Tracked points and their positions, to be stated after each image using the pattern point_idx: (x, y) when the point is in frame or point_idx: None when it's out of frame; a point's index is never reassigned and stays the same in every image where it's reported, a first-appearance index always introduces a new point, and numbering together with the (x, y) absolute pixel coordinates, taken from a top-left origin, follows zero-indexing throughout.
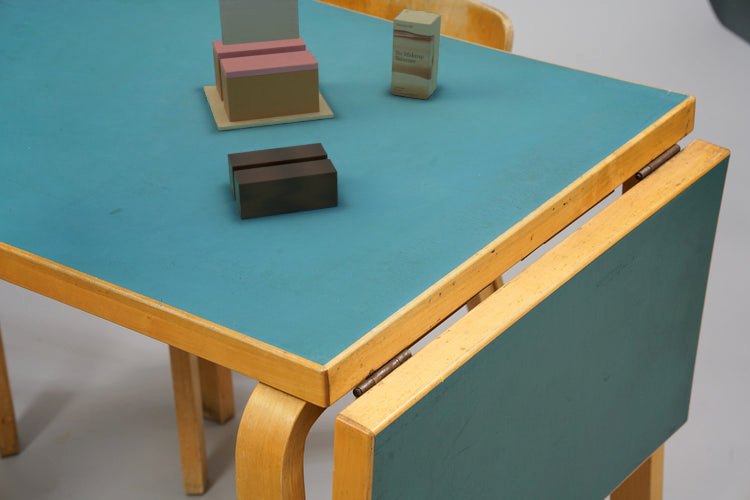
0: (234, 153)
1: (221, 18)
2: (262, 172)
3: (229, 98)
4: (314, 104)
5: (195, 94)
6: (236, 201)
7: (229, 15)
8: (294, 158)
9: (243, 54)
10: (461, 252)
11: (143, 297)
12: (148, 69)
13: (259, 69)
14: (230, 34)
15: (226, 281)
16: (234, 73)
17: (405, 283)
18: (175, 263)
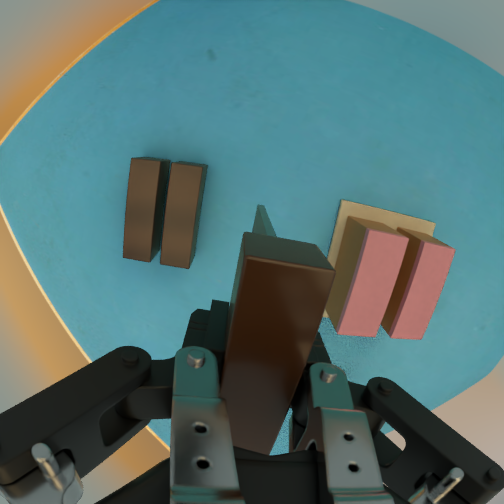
0: (200, 174)
1: (260, 214)
2: (145, 188)
3: (356, 223)
4: (326, 305)
5: (429, 211)
6: (165, 159)
7: (257, 231)
8: (163, 230)
9: (413, 270)
10: (53, 296)
11: (73, 63)
12: (490, 193)
13: (358, 270)
14: (255, 222)
15: (65, 123)
16: (365, 239)
17: (30, 244)
18: (102, 88)
